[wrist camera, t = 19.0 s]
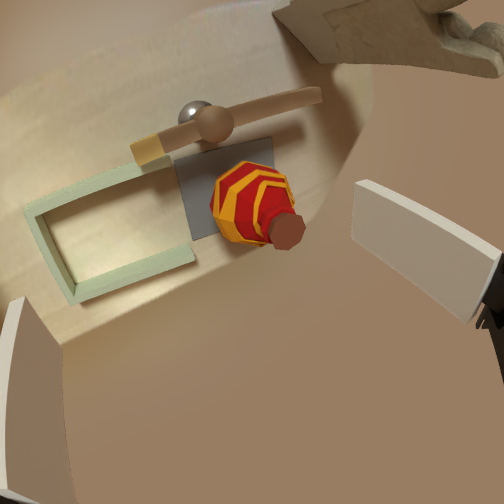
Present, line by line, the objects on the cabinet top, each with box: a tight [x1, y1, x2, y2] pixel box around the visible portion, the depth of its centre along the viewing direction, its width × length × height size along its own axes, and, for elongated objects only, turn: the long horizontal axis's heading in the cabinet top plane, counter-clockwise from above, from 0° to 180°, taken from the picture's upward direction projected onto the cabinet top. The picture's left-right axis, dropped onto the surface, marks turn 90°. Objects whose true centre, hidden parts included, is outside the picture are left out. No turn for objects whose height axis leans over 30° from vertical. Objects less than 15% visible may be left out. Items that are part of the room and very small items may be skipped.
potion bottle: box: [209, 161, 306, 250], centre depth 35 cm, size 10×10×15 cm
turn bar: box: [129, 87, 323, 167], centre depth 30 cm, size 4×23×2 cm, turn 105°
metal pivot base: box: [178, 101, 212, 125], centre depth 32 cm, size 5×5×4 cm
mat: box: [174, 137, 275, 240], centre depth 41 cm, size 14×12×1 cm
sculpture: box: [272, 0, 504, 79], centre depth 22 cm, size 15×8×30 cm, turn 50°
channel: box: [23, 153, 195, 306], centre depth 35 cm, size 19×15×3 cm
